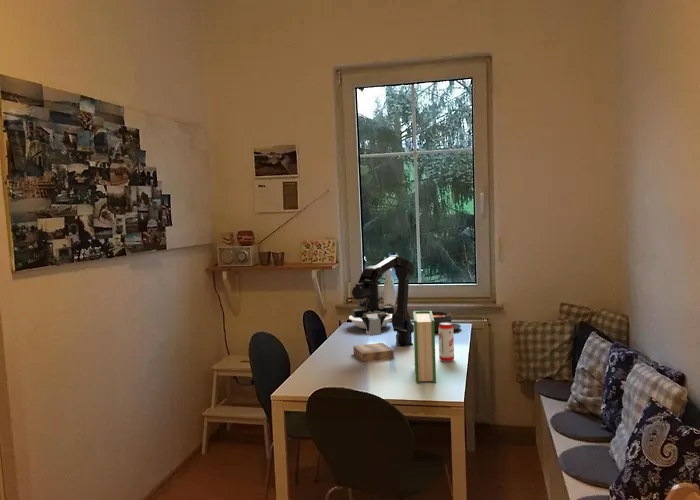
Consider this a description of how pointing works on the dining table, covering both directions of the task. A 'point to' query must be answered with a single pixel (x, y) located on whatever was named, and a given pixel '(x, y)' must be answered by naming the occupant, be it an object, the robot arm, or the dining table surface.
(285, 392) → the dining table surface
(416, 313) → the hardback book
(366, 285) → the robot arm
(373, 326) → the grey block
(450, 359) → the beer can
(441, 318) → the casserole
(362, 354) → the brown block
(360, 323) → the soup bowl
